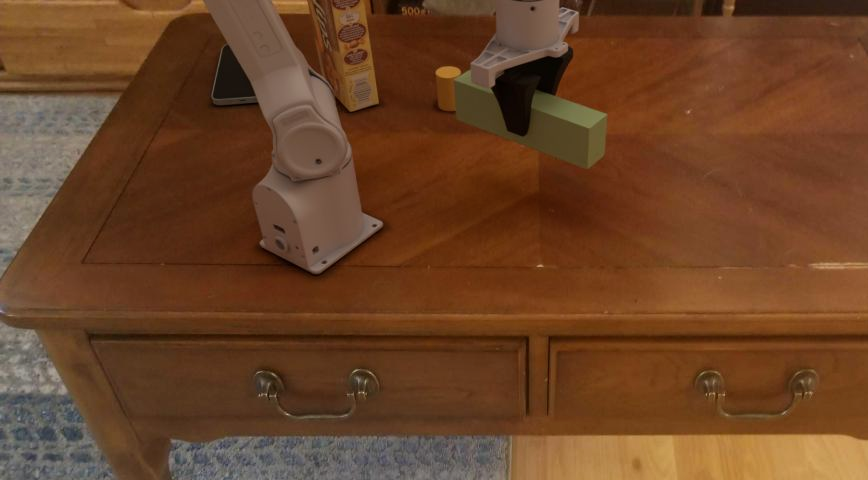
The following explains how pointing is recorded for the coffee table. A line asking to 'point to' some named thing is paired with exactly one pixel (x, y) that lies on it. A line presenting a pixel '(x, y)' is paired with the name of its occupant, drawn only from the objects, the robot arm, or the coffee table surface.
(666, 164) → the coffee table surface
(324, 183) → the robot arm
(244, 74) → the smartphone
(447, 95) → the cylinders
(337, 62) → the candy box
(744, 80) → the coffee table surface
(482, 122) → the bar
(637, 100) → the coffee table surface
